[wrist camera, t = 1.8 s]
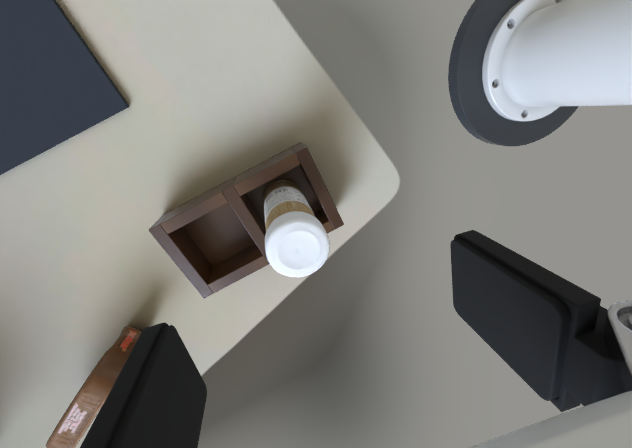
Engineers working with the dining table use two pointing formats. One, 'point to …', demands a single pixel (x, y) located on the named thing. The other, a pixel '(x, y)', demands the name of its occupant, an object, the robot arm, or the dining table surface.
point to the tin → (93, 392)
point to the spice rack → (237, 221)
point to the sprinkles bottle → (292, 231)
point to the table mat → (46, 81)
